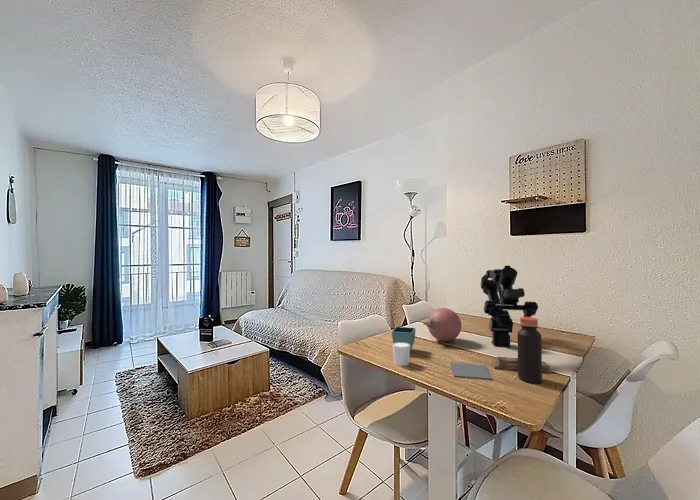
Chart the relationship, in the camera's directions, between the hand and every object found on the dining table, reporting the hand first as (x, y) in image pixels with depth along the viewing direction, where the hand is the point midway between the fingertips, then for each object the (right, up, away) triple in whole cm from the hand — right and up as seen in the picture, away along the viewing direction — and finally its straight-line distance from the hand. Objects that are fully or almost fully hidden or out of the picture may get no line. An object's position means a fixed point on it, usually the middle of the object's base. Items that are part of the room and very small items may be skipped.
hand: (514, 326), depth 114 cm
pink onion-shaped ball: (-20, -14, +27) cm, 37 cm away
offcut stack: (-1, -14, -6) cm, 15 cm away
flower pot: (-40, -14, +15) cm, 45 cm away
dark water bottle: (-4, -14, -16) cm, 21 cm away
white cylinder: (-43, -14, 0) cm, 45 cm away
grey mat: (-20, -14, -9) cm, 26 cm away
